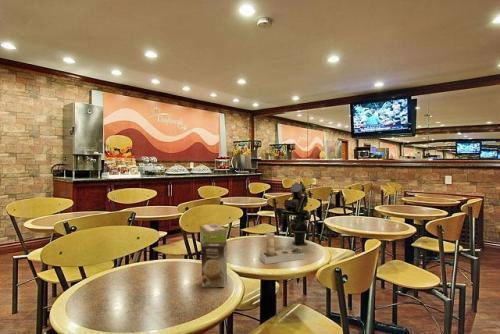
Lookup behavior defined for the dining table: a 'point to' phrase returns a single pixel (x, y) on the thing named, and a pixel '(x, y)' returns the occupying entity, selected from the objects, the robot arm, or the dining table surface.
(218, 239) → the tea box
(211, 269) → the coffee box
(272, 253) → the peg
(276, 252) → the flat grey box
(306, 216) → the robot arm
